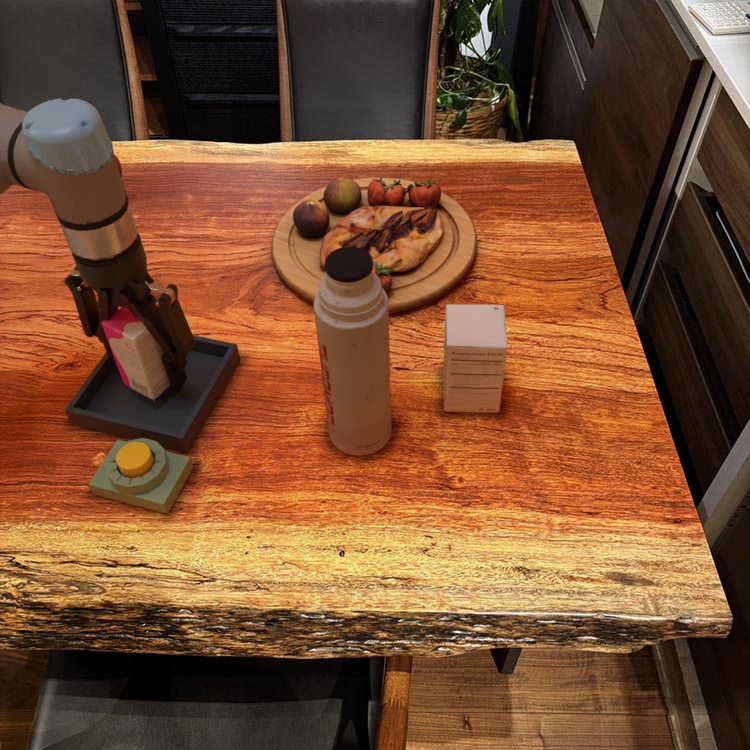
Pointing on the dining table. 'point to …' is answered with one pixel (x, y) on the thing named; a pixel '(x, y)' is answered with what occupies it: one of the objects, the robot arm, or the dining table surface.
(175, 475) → the control block
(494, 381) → the white packaging box
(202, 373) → the tray
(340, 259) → the thermos bottle
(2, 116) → the robot arm
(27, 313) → the dining table surface
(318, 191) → the wooden plate
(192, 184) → the dining table surface
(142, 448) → the button
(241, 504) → the dining table surface
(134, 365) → the supplement box
